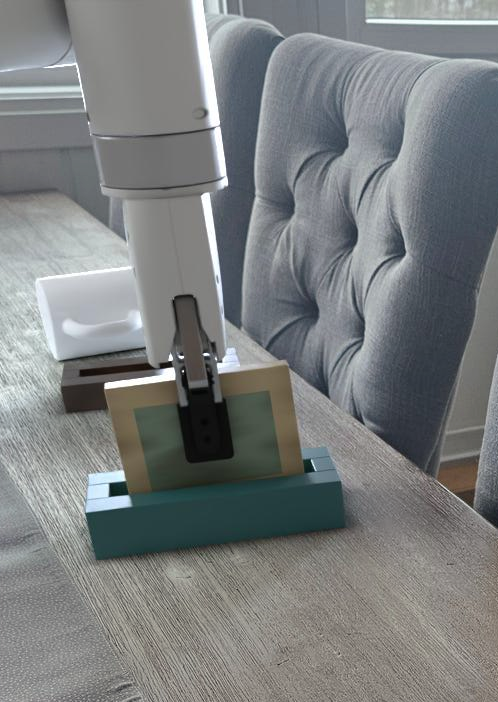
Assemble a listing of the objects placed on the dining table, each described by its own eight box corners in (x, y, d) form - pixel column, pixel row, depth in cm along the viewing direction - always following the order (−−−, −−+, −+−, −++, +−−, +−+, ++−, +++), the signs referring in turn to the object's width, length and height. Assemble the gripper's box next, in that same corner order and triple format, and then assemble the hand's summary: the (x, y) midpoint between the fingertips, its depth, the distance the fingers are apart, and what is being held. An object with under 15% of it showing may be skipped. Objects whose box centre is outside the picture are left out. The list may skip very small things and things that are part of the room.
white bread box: (48, 350, 119) (30, 271, 114) (143, 335, 122) (128, 259, 118) (68, 380, 109) (49, 296, 105) (170, 363, 113) (155, 282, 109)
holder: (95, 560, 75) (84, 512, 74) (98, 519, 81) (87, 473, 79) (346, 527, 79) (341, 480, 77) (331, 489, 85) (326, 445, 83)
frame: (134, 516, 77) (103, 389, 73) (134, 508, 79) (104, 382, 74) (307, 490, 80) (288, 364, 75) (304, 482, 81) (286, 358, 76)
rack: (66, 413, 101) (59, 386, 100) (69, 390, 107) (63, 364, 105) (245, 394, 104) (241, 367, 103) (239, 372, 110) (235, 347, 109)
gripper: (99, 151, 73) (152, 423, 83) (93, 187, 60) (156, 504, 70) (216, 143, 75) (254, 412, 84) (234, 177, 62) (276, 489, 72)
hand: (209, 452), depth 77 cm, fingers closed on frame, 1 cm apart
